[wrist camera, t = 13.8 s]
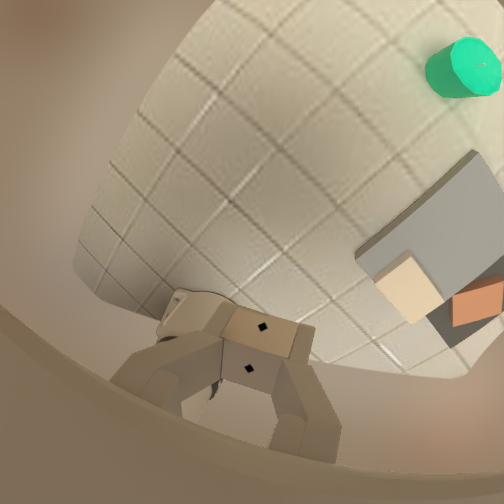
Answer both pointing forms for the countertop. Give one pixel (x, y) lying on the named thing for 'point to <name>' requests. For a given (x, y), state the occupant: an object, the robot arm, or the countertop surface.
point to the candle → (464, 70)
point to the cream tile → (409, 288)
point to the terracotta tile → (477, 301)
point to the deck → (446, 229)
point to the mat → (461, 332)
